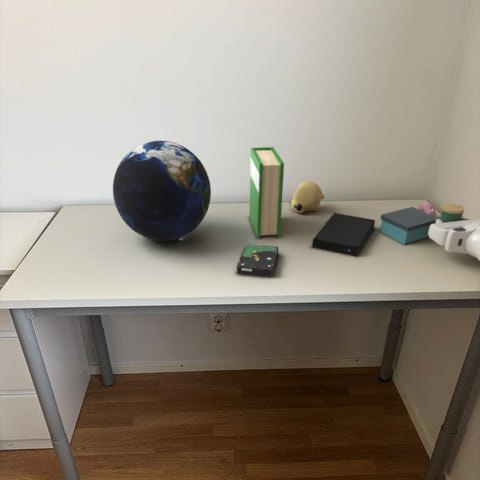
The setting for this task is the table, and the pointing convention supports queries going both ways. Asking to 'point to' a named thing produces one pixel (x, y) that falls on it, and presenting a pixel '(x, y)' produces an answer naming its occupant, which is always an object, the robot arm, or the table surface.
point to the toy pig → (306, 197)
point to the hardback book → (266, 191)
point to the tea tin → (452, 212)
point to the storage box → (407, 224)
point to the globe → (161, 190)
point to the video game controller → (427, 209)
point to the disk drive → (258, 260)
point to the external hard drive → (343, 234)
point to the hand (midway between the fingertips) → (448, 220)
